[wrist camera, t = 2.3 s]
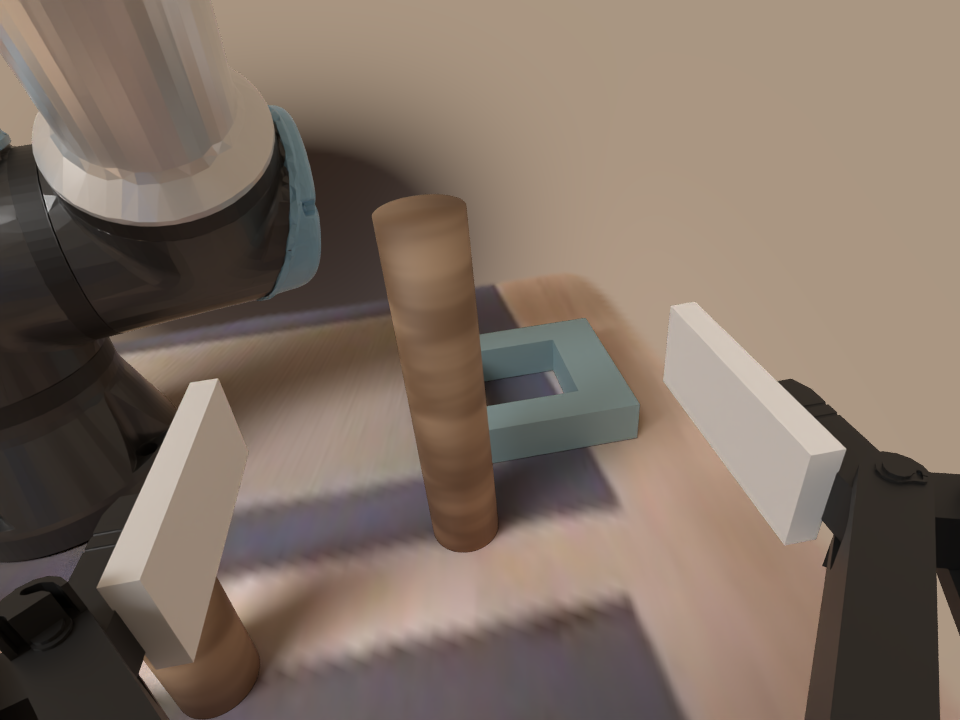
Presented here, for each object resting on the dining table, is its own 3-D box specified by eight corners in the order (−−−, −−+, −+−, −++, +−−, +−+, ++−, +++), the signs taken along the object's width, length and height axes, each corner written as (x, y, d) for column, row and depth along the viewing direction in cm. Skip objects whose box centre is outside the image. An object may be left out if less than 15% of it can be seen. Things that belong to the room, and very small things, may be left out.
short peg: (167, 673, 30) (85, 561, 25) (243, 624, 32) (181, 511, 27) (190, 738, 27) (103, 628, 22) (272, 680, 29) (209, 566, 24)
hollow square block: (637, 437, 41) (640, 404, 39) (439, 472, 40) (433, 439, 38) (585, 347, 51) (585, 317, 49) (425, 373, 50) (420, 343, 48)
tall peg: (420, 523, 36) (354, 213, 25) (471, 490, 38) (430, 188, 27) (459, 564, 34) (405, 236, 22) (512, 526, 36) (485, 207, 24)
